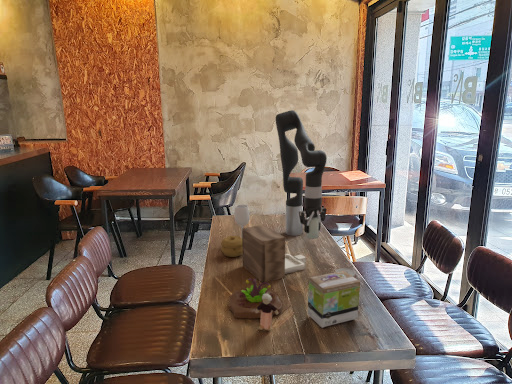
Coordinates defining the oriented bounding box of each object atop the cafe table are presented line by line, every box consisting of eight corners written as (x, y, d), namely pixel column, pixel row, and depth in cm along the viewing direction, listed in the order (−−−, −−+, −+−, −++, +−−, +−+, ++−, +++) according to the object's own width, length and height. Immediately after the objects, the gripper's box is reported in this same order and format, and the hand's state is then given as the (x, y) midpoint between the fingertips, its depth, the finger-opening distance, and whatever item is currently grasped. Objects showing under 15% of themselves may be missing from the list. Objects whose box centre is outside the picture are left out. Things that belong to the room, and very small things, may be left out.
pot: (227, 249, 196) (226, 231, 193) (248, 252, 192) (247, 233, 189) (217, 257, 185) (216, 238, 182) (239, 261, 181) (239, 241, 179)
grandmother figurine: (255, 331, 125) (255, 296, 122) (255, 324, 128) (255, 291, 126) (278, 331, 125) (278, 296, 122) (277, 324, 128) (278, 291, 126)
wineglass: (250, 246, 199) (249, 208, 194) (233, 246, 199) (232, 208, 195) (250, 240, 208) (250, 204, 203) (235, 240, 208) (234, 204, 203)
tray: (295, 256, 185) (295, 251, 185) (312, 267, 173) (312, 261, 172) (267, 263, 178) (267, 257, 177) (282, 274, 166) (282, 268, 165)
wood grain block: (263, 261, 180) (263, 224, 176) (284, 277, 163) (285, 237, 159) (242, 266, 175) (242, 228, 171) (262, 282, 159) (262, 241, 154)
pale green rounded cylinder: (313, 233, 174) (314, 215, 172) (320, 237, 170) (321, 218, 168) (303, 235, 172) (304, 217, 170) (310, 239, 167) (311, 220, 165)
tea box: (322, 329, 126) (323, 289, 122) (306, 314, 135) (307, 276, 131) (358, 319, 132) (361, 280, 128) (341, 305, 141) (343, 268, 137)
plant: (226, 294, 150) (225, 268, 147) (274, 290, 153) (274, 264, 150) (231, 322, 131) (230, 293, 128) (285, 317, 134) (286, 288, 131)
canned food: (355, 295, 148) (356, 269, 145) (353, 305, 141) (354, 278, 138) (335, 292, 150) (336, 266, 148) (332, 301, 143) (333, 275, 140)
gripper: (321, 191, 173) (319, 226, 177) (295, 195, 166) (294, 231, 170) (331, 195, 166) (330, 231, 170) (304, 199, 160) (304, 237, 164)
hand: (312, 231), depth 170 cm, fingers closed on pale green rounded cylinder, 5 cm apart
